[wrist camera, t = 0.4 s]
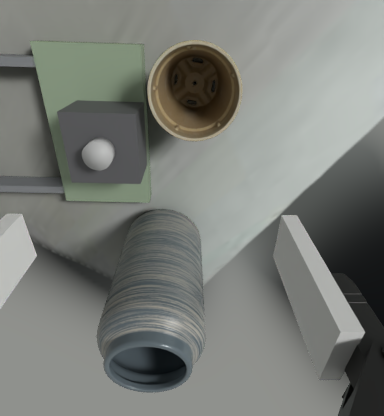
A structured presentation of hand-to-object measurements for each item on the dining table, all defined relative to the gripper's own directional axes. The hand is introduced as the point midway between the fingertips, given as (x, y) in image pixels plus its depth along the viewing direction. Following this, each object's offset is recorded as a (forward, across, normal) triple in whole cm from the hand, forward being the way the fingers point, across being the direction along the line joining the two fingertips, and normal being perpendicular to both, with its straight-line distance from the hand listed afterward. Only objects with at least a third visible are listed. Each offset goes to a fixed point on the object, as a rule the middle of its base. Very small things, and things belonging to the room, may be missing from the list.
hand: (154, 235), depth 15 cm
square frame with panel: (+26, -16, -2) cm, 31 cm away
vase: (+27, -2, -19) cm, 33 cm away
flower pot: (+27, +2, +4) cm, 27 cm away
